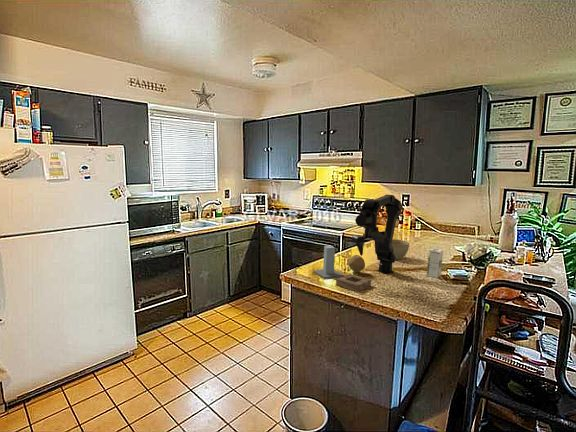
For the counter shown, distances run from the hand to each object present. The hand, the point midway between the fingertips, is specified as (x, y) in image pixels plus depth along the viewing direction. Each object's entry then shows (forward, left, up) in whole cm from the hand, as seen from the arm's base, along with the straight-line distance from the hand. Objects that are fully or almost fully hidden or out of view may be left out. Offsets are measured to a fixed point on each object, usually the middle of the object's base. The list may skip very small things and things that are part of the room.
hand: (369, 254), depth 166 cm
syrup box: (-38, +7, -13) cm, 41 cm away
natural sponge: (-1, -12, -13) cm, 18 cm away
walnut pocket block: (+12, +5, -13) cm, 18 cm away
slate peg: (+15, -14, -12) cm, 24 cm away
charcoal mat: (+15, -14, -13) cm, 24 cm away
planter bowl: (-44, -30, -13) cm, 55 cm away
